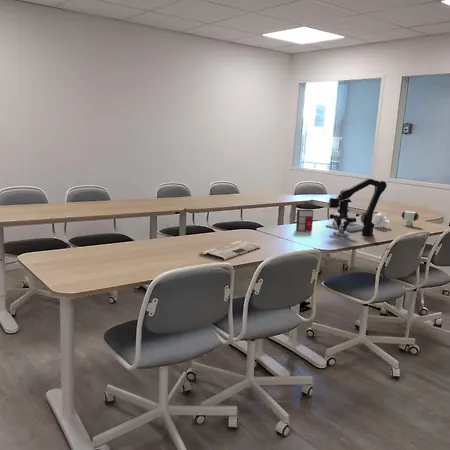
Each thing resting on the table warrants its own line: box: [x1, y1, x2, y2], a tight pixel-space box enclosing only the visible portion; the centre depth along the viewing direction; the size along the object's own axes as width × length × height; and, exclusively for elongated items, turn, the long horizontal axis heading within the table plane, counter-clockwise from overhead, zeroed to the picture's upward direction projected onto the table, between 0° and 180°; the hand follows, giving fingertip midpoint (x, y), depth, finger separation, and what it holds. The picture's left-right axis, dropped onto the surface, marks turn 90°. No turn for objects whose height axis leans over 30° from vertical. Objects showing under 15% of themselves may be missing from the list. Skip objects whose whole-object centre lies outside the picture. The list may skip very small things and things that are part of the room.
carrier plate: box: [325, 219, 364, 233], centre depth 346 cm, size 22×17×4 cm
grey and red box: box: [295, 209, 314, 232], centre depth 331 cm, size 11×4×15 cm, turn 101°
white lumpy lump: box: [372, 211, 390, 229], centre depth 352 cm, size 11×12×12 cm
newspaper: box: [199, 240, 262, 261], centre depth 270 cm, size 37×19×3 cm, turn 144°
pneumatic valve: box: [401, 210, 420, 227], centre depth 364 cm, size 6×12×12 cm, turn 49°
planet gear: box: [332, 225, 350, 237], centre depth 325 cm, size 11×11×6 cm
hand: (341, 230), depth 325 cm, fingers closed on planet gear, 4 cm apart
